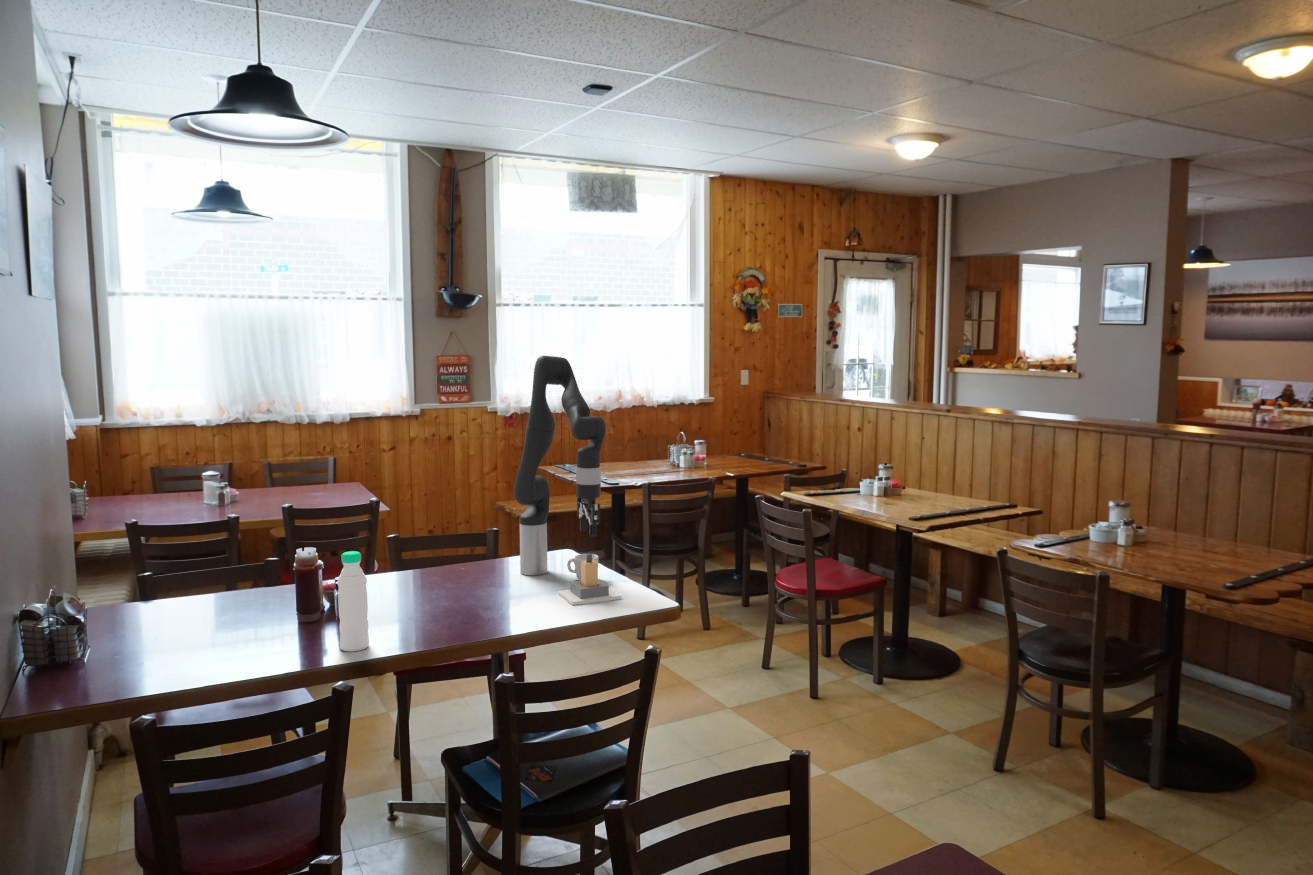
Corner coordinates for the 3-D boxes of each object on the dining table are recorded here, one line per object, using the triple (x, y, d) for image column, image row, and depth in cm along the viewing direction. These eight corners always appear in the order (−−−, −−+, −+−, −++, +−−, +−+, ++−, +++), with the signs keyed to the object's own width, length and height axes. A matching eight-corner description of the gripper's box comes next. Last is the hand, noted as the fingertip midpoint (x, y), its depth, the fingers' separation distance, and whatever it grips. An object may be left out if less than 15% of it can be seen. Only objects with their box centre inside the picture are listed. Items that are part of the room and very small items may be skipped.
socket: (558, 594, 272) (557, 581, 271) (605, 588, 279) (605, 576, 278) (572, 605, 260) (571, 592, 260) (621, 598, 267) (621, 586, 266)
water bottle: (359, 641, 229) (355, 548, 226) (374, 646, 224) (371, 552, 222) (334, 648, 223) (330, 553, 221) (349, 654, 219) (346, 557, 216)
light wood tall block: (581, 592, 270) (580, 553, 269) (593, 590, 272) (592, 552, 271) (585, 595, 267) (585, 556, 265) (597, 594, 268) (597, 554, 267)
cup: (563, 581, 287) (562, 557, 286) (572, 575, 294) (572, 552, 294) (593, 584, 284) (593, 560, 283) (602, 577, 291) (602, 554, 290)
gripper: (608, 484, 260) (608, 537, 262) (591, 477, 273) (591, 528, 275) (584, 486, 257) (584, 539, 259) (569, 478, 270) (569, 530, 272)
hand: (588, 533), depth 267 cm, fingers open, 8 cm apart
